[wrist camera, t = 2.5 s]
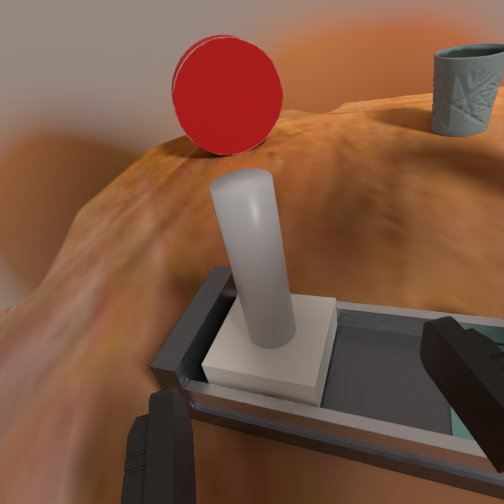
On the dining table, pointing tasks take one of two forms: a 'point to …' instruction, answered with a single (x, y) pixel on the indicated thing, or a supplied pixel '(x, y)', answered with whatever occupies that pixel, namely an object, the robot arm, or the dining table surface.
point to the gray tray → (342, 391)
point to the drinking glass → (465, 88)
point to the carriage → (266, 302)
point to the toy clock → (226, 94)
